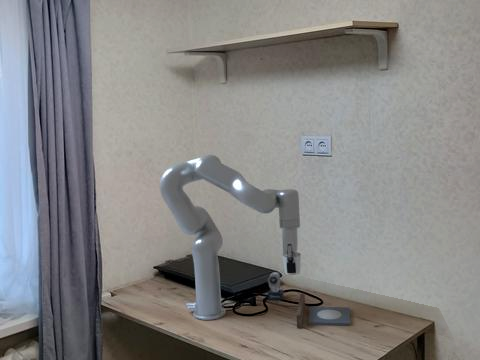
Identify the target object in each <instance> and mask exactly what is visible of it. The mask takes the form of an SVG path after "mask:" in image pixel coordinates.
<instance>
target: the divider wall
mask: <svg viewBox="0 0 480 360" xmlns="http://www.w3.org/2000/svg"><path fill="white" fill-rule="evenodd" d="M305 307H306V293H305V292H304V293H303V292H301V293H300V294H299V300H298V305H297V310H296V311H297V312H296V328H297V329H303V323H304V321H303V320H304V314H305Z"/></svg>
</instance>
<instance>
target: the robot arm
mask: <svg viewBox="0 0 480 360" xmlns="http://www.w3.org/2000/svg"><path fill="white" fill-rule="evenodd" d="M201 180H204V181H206V182H208V183H209V184H211V185H213V186H215V187H217V188H219V189H221V190H224V192H227V194H229V195H230V196H232V197H233V198H234V199H236V200H237V201H239V202H240V203H241V204H244V205H245V206H246V207H249V208H251V209H252V210H254V211H257V212H258V213H261V214H270V213H272V212H273V211H274V210H275V209H277V208H278V217H279V218H278V219H279V229H281V230H282V233H281V234H282V237H281V238H282V240H281V241H282V255H285V254H286V253H287V273H296V264H295V255H296V253H298V243H299V240H298V239H299V238H298V237H299V236H298V229H299V228H301V218H300V200H299V198H300V197H299V196H300V195H299V192H298V190H297V189H291V188H289V189H288V188H287V189H274V188H273V189H272V188H270V189H269V188H267V189H264V190H261V189H259V188H258V187H255V186H254V185H252V184H251V183H250V182H248V181H247V180H246V178H244V176H243V175H242V173H240V172H239V171H238V170H235V169H233V168H232V167H229V166H228V165H226V164H224V163H222V161H221V159H220V158H219V157H218V156H216V155H213V154H207V155H204V156H201V157H200V156H199V157H198V158H194V159H190V160H186V161H184V162H180V163H177V164H174V165H172V166H170V167H169V168H167V169H166V170H165V172H164V173H163V175H162V176H161V178H160V181H159V191H160V194H161V197H162V198H163V201H164V202H165V204H166V205H167V206H168V208H169V210H170V212H171V214H172V216H173V217H174V219H175V221H176V222H177V224H178V226H179V227H180V229H181V230H182V232H183V233H185V234H186V235H189V236H193V235H194V236H195V237H196V238H195V240H194V241H193V243H192V247H191V254H192V261H193V268H194V279H195V280H194V281H195V282H194V283H195V284H194V285H195V298H196V299H195V300H196V301H194V302H186V308H187V310H193V311H192V315H193V317H194V318H196V319H197V320H203V321H211V320H217V319H221V318H222V317H224V316H225V315H226V314H227V313H226V311H227V310H226V309H225V308H226V307H225V308H224V307H223V306H222V295H221V276H220V263H219V257H218V253H219V250H220V249H221V248H222V246H223V243H224V242H223V236H222V234H221V231H220V230H219V229H218V227H217V225H216V223H215V222H214V220H213V219H212V217H211V215H210V214H209V212H208V211H207V210H206V209H205V208H204V207H201V206H199V205H194V203H193V202H192V200H191V199H190V197H189V195H188V194H187V193H186V192H185V191H184V189H183V188H184V186H186V185H188V184H190V183H192V182H197V181H201ZM292 253H293V254H292ZM292 256H293V257H292Z"/></svg>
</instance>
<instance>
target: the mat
mask: <svg viewBox="0 0 480 360" xmlns="http://www.w3.org/2000/svg"><path fill="white" fill-rule="evenodd" d="M307 325H308V326H336V327H338V326H339V327H340V326H342V327H344V326H345V327H351V311H350V307H349V306H347V307H343V306H341V307H338V306H337V307H335V306H309V312H308V322H307Z"/></svg>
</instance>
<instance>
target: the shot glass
mask: <svg viewBox="0 0 480 360" xmlns="http://www.w3.org/2000/svg"><path fill="white" fill-rule="evenodd" d="M292 254H293V253H292ZM292 257H293V256H292ZM301 258H302V257H301V253H300V252H297V253H296V255H295V264H296V273H287V253H286V254H285V255H283V254H282V261H283V263H282V264H283V267H284V274H286V275H289V276H295V275H299V274H300V273H301V260H302V259H301Z"/></svg>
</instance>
